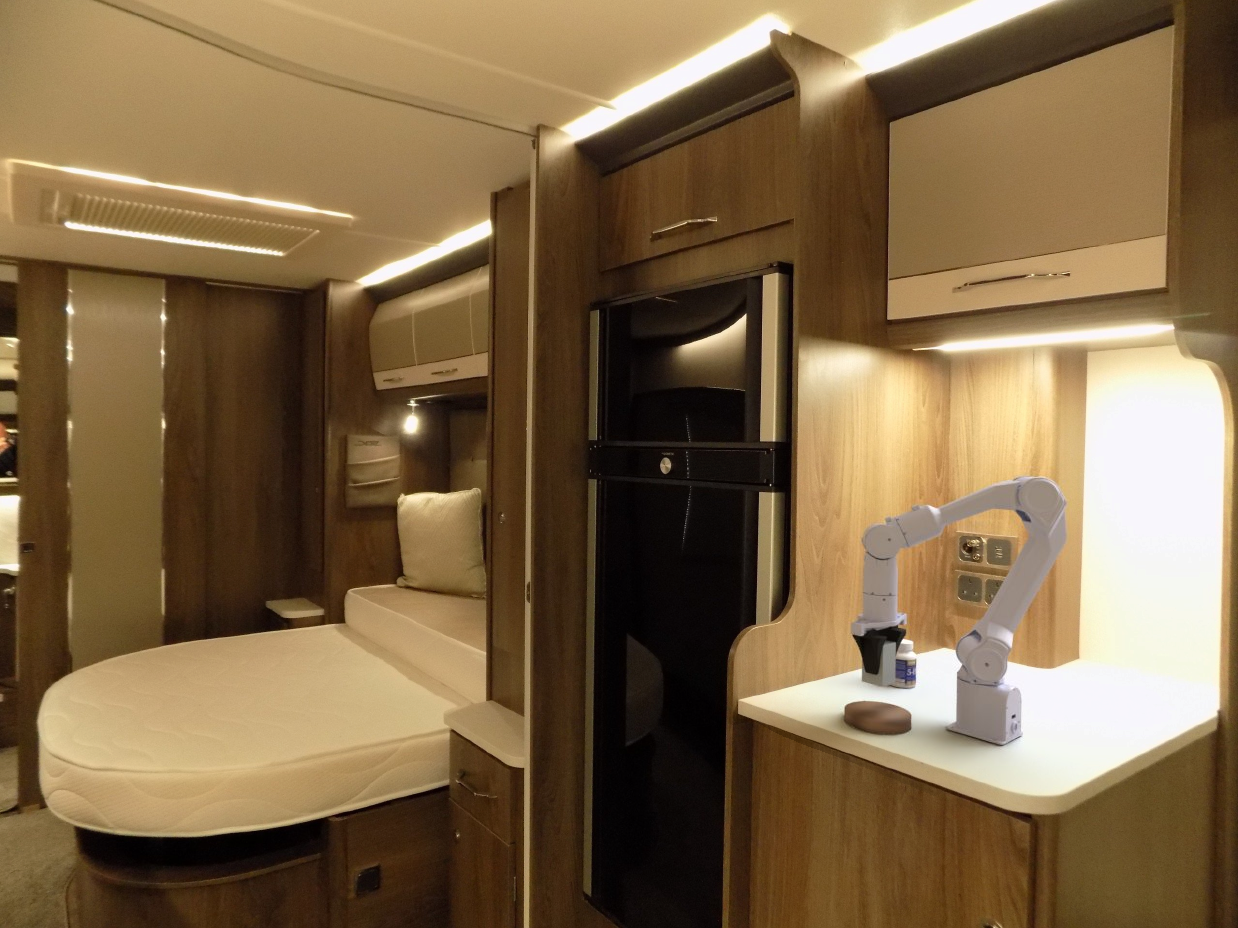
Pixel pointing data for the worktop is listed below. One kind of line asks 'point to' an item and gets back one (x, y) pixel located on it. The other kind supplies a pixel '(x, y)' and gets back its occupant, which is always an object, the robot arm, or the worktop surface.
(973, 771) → the worktop surface
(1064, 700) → the worktop surface
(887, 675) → the block
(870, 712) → the plinth
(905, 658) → the pill bottle
